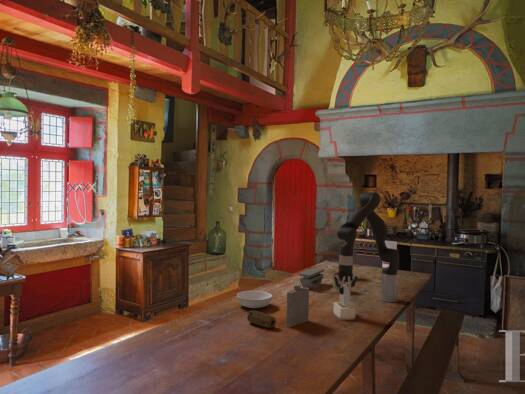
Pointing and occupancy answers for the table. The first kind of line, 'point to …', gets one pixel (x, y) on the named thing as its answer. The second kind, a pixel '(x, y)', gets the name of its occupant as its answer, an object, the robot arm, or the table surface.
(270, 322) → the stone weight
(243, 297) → the serving bowl
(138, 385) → the table surface
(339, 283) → the ceramic cup
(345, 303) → the tall brushed metal block
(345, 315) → the hollow off-white angular block
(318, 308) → the table surface
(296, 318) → the hip flask
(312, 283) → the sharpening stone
